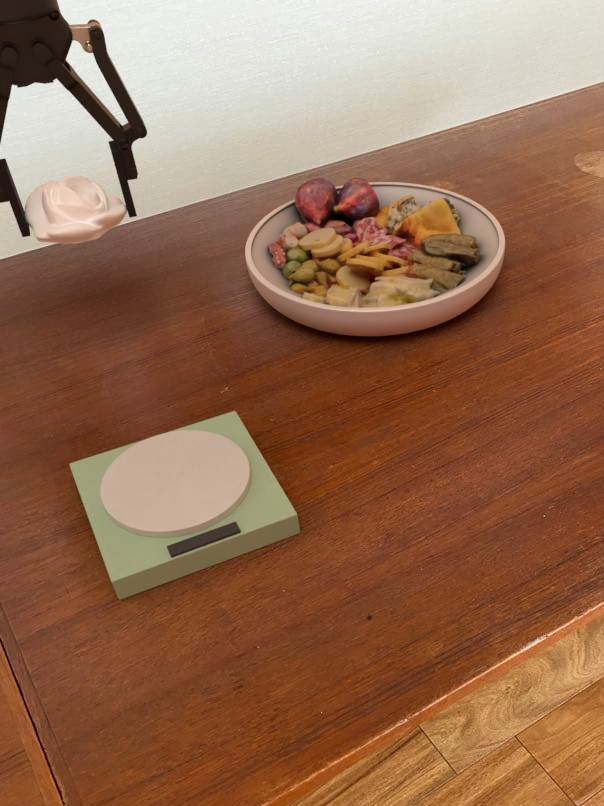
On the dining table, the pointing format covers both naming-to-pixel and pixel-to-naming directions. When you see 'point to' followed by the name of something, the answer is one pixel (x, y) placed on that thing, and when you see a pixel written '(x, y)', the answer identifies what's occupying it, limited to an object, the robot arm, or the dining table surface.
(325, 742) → the dining table surface
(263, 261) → the bowl
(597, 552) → the dining table surface
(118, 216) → the rose
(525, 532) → the dining table surface
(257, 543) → the scale
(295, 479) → the dining table surface
